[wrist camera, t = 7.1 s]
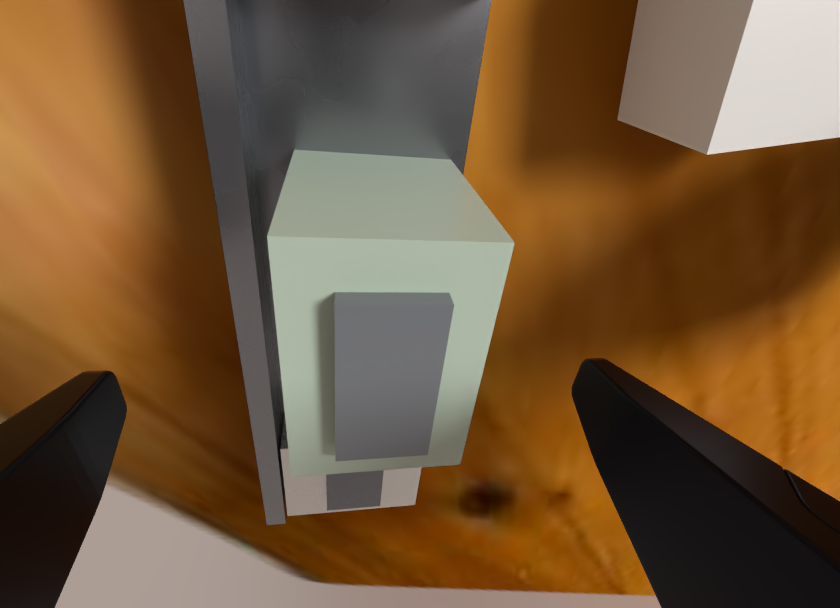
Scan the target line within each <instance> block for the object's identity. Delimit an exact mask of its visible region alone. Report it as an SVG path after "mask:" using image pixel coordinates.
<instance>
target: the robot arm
mask: <svg viewBox="0 0 840 608" xmlns="http://www.w3.org/2000/svg"><path fill="white" fill-rule="evenodd" d="M572 397H573V401H574V404H575V407H576V409H577V412H578V415H579V418H580V421H581V424H582V427H583V430H584V433H585V436H586V439H587V442H588V445H589V448H590V450H591V453H592V456H593V458H594V461H595V463H596V466H597V468H598V470H599V473H600V475H601V477H602V479H603V481H604V484H605V486H606V488H607V490H608V492H609V495H610V497H611V499H612V501H613V503H614V505H615V508H616V510H617V512H618V514H619V516H620V518H621V521H622V523H623V525H624V527H625V529H626V532H627V534H628V536H629V538H630V540H631V542H632V545H633V547H634V549H635V551H636V553H637V555H638V558H639V560H640V562H641V564H642V566H643V569H644V571H645V573H646V575H647V577H648V579H649V582H650V584H651V586H652V588H653V590H654V592H655V595H656V597H657V599H658V601H659V603H660V606H661V608H840V501H838V500H836V499H835V498H833V497H831V496H830V495H828V494H826V493H825V492H823V491H821V490H820V489H818V488H816V487H814V486H813V485H811V484H809V483H808V482H806V481H805V480H803V479H801V478H800V477H798V476H796V475H795V474H793V473H792V472H790V471H788V470H786V469H784V470H783V468H782V467H781V466H780V465H778V464H777V463H775V462H773V461H772V460H770V459H768V458H767V457H765V456H763V455H762V454H760V453H759V452H757V451H755V450H754V449H752V448H750V447H749V446H747V445H745V444H744V443H742V442H740V441H739V440H737V439H736V438H734V437H732V436H731V435H729V434H727V433H726V432H724V431H722V430H721V429H719V428H718V427H716V426H714V425H713V424H711V423H709V422H708V421H706V420H704V419H703V418H701V417H699V416H698V415H696V414H695V413H693V412H691V411H690V410H688V409H686V408H685V407H683V406H681V405H680V404H678V403H676V402H675V401H673V400H672V399H670V398H668V397H667V396H665V395H663V394H662V393H660V392H658V391H657V390H655V389H654V388H652V387H650V386H649V385H647V384H645V383H644V382H642V381H640V380H639V379H637V378H636V377H634V376H632V375H631V374H629V373H627V372H626V371H624V370H622V369H621V368H619V367H617V366H616V365H614V364H613V363H611V362H609V361H608V360H606V359H603V358H589V359H585V360H584V361H583V362H582V364H581V366H580V368H579V371H578V373H577V376H576V378H575V380H574V383H573V386H572ZM126 412H127V407H126V402H125V399H124V397H123V394H122V391H121V389H120V386H119V383H118V381H117V378H116V376H115V374H114V373H113V372H111V371H86V372H82V373H80V374H79V375H77V376H75V377H74V378H72V379H71V380H69V381H68V382H66V383H64V384H63V385H61V386H60V387H58V388H56V389H55V390H53V391H52V392H50V393H49V394H47V395H45V396H44V397H42V398H41V399H39V400H37V401H36V402H34V403H33V404H31V405H30V406H28V407H26V408H25V409H23V410H22V411H20V412H19V413H17V414H15V415H14V416H12V417H11V418H9V419H7V420H6V421H4V422H3V423H1V424H0V608H55V605H56V603H57V601H58V598H59V596H60V594H61V592H62V589H63V587H64V584H65V582H66V580H67V577H68V575H69V573H70V571H71V568H72V566H73V563H74V561H75V559H76V556H77V554H78V552H79V550H80V547H81V545H82V542H83V540H84V538H85V536H86V533H87V531H88V528H89V526H90V524H91V522H92V519H93V517H94V515H95V512H96V509H97V507H98V505H99V502H100V500H101V497H102V494H103V491H104V488H105V485H106V481H107V478H108V475H109V471H110V468H111V465H112V461H113V458H114V455H115V451H116V448H117V445H118V441H119V438H120V435H121V431H122V428H123V424H124V421H125V418H126Z"/></svg>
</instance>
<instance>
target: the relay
mask: <svg viewBox="0 0 840 608" xmlns="http://www.w3.org/2000/svg"><path fill="white" fill-rule="evenodd" d="M617 120H619V121H621V122H624V123H626V124H629V125H632V126H634V127H637V128H639V129H642V130H644V131H647V132H649V133H652V134H655V135H657V136H660V137H662V138H665V139H667V140H670V141H673V142H675V143H678V144H680V145H683V146H685V147H688V148H691V149H693V150H696V151H698V152H701V153H703V154H706V155H709V154H717V153H724V152H732V151H739V150H747V149H754V148H762V147H770V146H777V145H785V144H792V143H800V142H808V141H815V140H823V139H830V138H838V137H840V0H638V5H637V11H636V16H635V22H634V28H633V33H632V39H631V45H630V50H629V56H628V62H627V67H626V73H625V79H624V84H623V90H622V96H621V101H620V107H619V113H618V118H617Z"/></svg>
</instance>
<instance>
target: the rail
mask: <svg viewBox="0 0 840 608" xmlns="http://www.w3.org/2000/svg"><path fill="white" fill-rule="evenodd" d="M183 1H184V7H185V14H186V20H187V26H188V32H189V39H190V45H191V51H192V58H193V64H194V70H195V76H196V83H197V89H198V95H199V101H200V108H201V114H202V120H203V127H204V133H205V139H206V145H207V152H208V158H209V164H210V171H211V177H212V183H213V189H214V196H215V202H216V208H217V214H218V221H219V227H220V233H221V240H222V246H223V252H224V258H225V265H226V271H227V277H228V284H229V290H230V296H231V302H232V309H233V315H234V321H235V327H236V334H237V340H238V346H239V353H240V359H241V365H242V371H243V378H244V384H245V390H246V397H247V403H248V409H249V415H250V422H251V428H252V434H253V440H254V447H255V453H256V459H257V466H258V472H259V478H260V484H261V491H262V497H263V503H264V509H265V516H266V522H267V525H274V524H285V523H286V516H287V515H288V516H294V515H305V514H317V513H328V512H339V511H350V510H362V509H373V508H384V507H396V506H407V505H415V502H416V496H417V490H418V485H419V479H420V473H421V468H422V467H420V468H407V469H393V470H380V471H367V472H353V473H340V474H326V475H313V476H299V477H291V471H290V461H289V451H288V441H287V431H286V421H285V411H284V401H283V391H282V381H281V371H280V361H279V351H278V341H277V331H276V321H275V311H274V301H273V291H272V281H271V271H270V261H269V251H268V241H267V235H268V231H269V228H270V225H271V222H272V219H273V216H274V212H275V209H276V206H277V203H278V200H279V196H280V193H281V190H282V187H283V184H284V181H285V177H286V174H287V171H288V168H289V165H290V161H291V158H292V155H293V152H294V150H308V151H323V152H339V153H355V154H370V155H386V156H402V157H417V158H433V159H449V160H452V162H453V163H454V164H455V165H456V167H457V168H458V169H459V171H460V172H461V173H462V175H463V171H464V165H465V159H466V153H467V147H468V141H469V134H470V128H471V122H472V116H473V110H474V104H475V98H476V91H477V85H478V79H479V73H480V67H481V61H482V55H483V49H484V42H485V36H486V30H487V24H488V18H489V12H490V6H491V0H183Z"/></svg>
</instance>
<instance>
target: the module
mask: <svg viewBox="0 0 840 608" xmlns="http://www.w3.org/2000/svg"><path fill="white" fill-rule="evenodd" d="M267 241H268V251H269V261H270V271H271V281H272V291H273V301H274V311H275V321H276V331H277V341H278V351H279V361H280V371H281V381H282V391H283V401H284V411H285V421H286V431H287V441H288V451H289V461H290V471H291V477H299V476H313V475H326V474H340V473H353V472H367V471H380V470H393V469H407V468H420V467H434V466H447V465H460V463H461V459H462V455H463V451H464V447H465V443H466V438H467V434H468V430H469V426H470V422H471V418H472V414H473V410H474V406H475V402H476V398H477V394H478V390H479V386H480V382H481V378H482V374H483V370H484V366H485V362H486V357H487V353H488V349H489V345H490V341H491V337H492V333H493V329H494V325H495V321H496V317H497V313H498V309H499V305H500V301H501V297H502V293H503V289H504V285H505V281H506V276H507V272H508V268H509V264H510V260H511V256H512V252H513V248H514V244H515V242H514V241H513V240H512V239H511V237H510V236H509V235H508V233H507V232H506V231H505V229H504V228H503V227H502V226H501V224H500V223H499V222H498V220H497V219H496V218H495V216H494V215H493V214H492V212H491V211H490V210H489V209H488V207H487V206H486V205H485V203H484V202H483V201H482V199H481V198H480V197H479V195H478V194H477V193H476V192H475V190H474V189H473V188H472V186H471V185H470V184H469V182H468V181H467V180H466V179H465V177H464V176H463V175H462V173H461V172H460V171H459V169H458V168H457V167H456V165H455V164H454V163H453V162H452V160H449V159H433V158H417V157H402V156H386V155H370V154H355V153H339V152H323V151H308V150H294V152H293V155H292V158H291V161H290V165H289V168H288V171H287V174H286V177H285V181H284V184H283V187H282V190H281V193H280V196H279V200H278V203H277V206H276V209H275V212H274V216H273V219H272V222H271V225H270V228H269V231H268V235H267Z"/></svg>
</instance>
